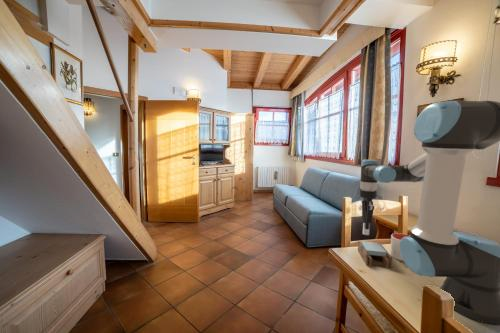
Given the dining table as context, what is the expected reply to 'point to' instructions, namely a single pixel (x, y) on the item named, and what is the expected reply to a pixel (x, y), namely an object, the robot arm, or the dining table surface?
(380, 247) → the cover slab
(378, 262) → the walnut box
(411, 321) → the dining table surface
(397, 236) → the cup
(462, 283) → the robot arm
